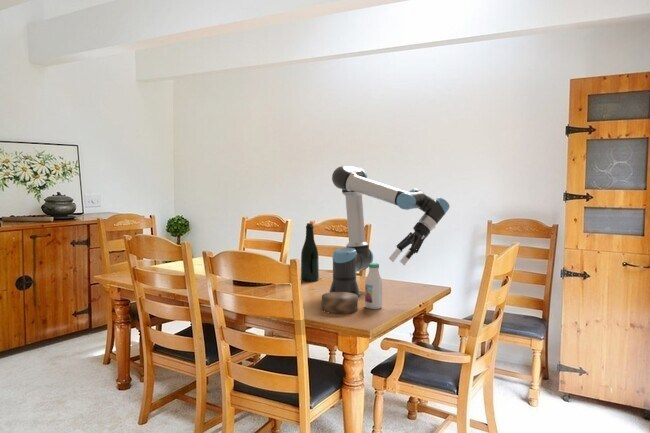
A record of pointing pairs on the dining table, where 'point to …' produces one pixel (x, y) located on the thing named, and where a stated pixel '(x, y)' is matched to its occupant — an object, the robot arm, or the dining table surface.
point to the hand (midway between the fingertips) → (396, 261)
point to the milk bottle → (373, 288)
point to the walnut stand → (339, 302)
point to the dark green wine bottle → (309, 257)
